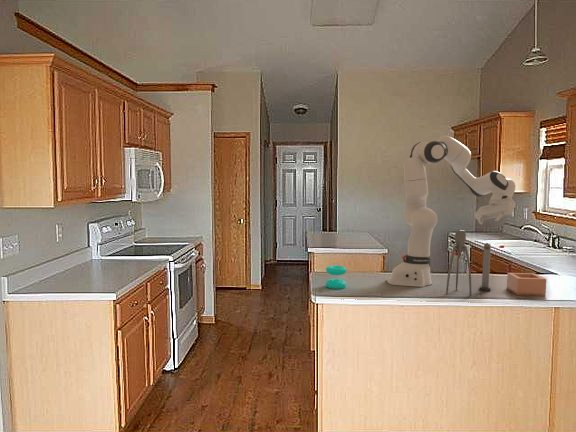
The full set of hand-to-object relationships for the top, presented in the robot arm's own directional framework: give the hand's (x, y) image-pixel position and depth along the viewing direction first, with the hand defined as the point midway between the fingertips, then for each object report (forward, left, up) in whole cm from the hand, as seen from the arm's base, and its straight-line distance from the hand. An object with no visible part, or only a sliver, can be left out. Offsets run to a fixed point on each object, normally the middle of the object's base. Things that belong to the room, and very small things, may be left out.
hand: (488, 221), depth 260 cm
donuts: (-75, -12, -32) cm, 83 cm away
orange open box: (+15, -13, -32) cm, 38 cm away
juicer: (-18, -17, -32) cm, 41 cm away
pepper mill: (-3, -10, -32) cm, 34 cm away
